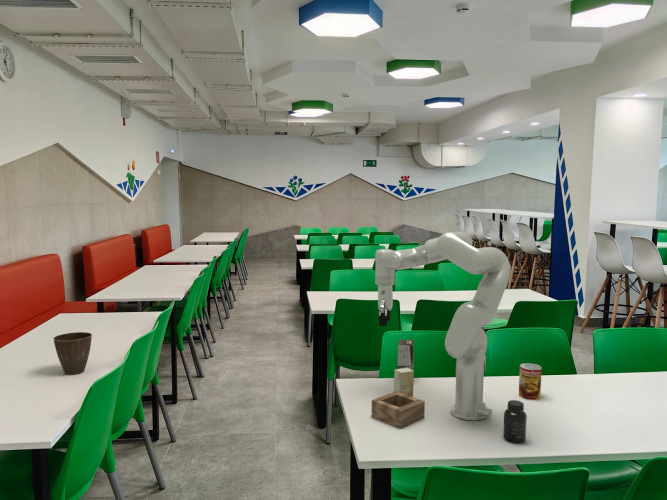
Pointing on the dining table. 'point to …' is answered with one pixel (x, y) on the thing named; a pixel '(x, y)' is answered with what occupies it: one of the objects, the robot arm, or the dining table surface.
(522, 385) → the canned food
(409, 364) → the coffee box
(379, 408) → the socket block
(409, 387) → the skincare box
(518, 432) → the supplement bottle
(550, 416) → the dining table surface
